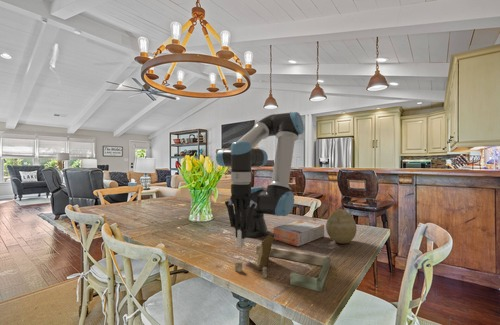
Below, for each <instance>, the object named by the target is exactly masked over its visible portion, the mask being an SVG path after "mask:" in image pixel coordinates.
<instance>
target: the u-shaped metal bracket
mask: <svg viewBox="0 0 500 325" xmlns="http://www.w3.org/2000/svg"><path fill="white" fill-rule="evenodd" d="M260 246H261V244H256V246H255V247H256V249H255V250H256V251H255V252H256V254H258V251H259V249H260ZM269 257H274V258H279V259H286V260H290V261H295V262H301V263H306V264H311V265H317V266H321V269H320V272H319V275H318V277H315V276H314V277H313V276H308V275H303V274H299V273H295V272H290V275H289V277H290V278H289V280H290V281H289V282H290V285H291V286H292V285H293V286H297V287H300V288H303V289H304V288H305V289H308V290H313V291H317V292H322V291H323V288H324V285H325V282H326V279H327V276H328V273H329V270H330V268H331V256H330V257H329V256H327V255H326V256H325V255H321V254H313V253H309V252H307V253H306V252H301V251H297V250H290V249H284V248H279V247H273V246H271V251H270V256H269ZM234 262H235V263H234V270H235V271H234V272H237V273H242V272H243V262H242V261H240V260H236V261H234ZM267 277H268V266H266V267H263V270H262V278H263V279H266V278H267Z"/></svg>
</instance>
